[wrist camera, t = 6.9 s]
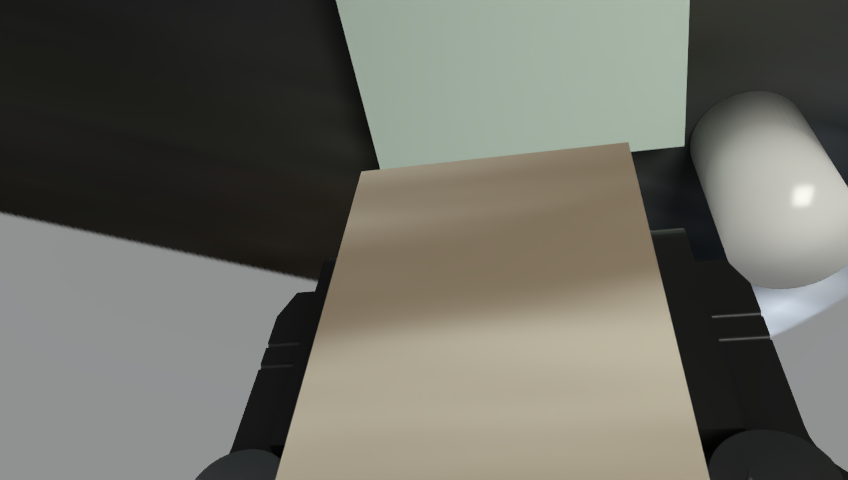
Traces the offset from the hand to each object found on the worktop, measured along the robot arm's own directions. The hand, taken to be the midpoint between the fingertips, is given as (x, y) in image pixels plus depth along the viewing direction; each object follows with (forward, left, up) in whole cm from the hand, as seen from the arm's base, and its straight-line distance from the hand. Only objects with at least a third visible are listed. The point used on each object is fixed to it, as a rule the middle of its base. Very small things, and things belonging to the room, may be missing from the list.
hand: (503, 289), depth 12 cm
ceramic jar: (+8, +8, -16) cm, 20 cm away
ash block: (0, 0, -1) cm, 1 cm away
